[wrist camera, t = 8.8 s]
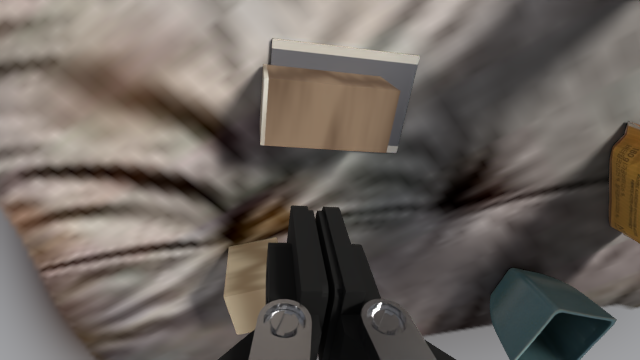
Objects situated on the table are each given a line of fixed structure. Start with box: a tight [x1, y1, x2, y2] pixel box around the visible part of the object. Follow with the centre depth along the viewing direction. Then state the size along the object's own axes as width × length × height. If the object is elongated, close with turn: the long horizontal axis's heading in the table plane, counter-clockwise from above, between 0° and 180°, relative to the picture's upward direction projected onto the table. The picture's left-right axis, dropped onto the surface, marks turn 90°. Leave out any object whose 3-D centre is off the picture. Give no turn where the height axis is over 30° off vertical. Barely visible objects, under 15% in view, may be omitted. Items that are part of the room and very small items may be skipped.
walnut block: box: [260, 64, 400, 153], centre depth 29 cm, size 5×5×10 cm
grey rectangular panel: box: [271, 38, 420, 153], centre depth 32 cm, size 12×9×1 cm
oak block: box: [224, 237, 278, 335], centre depth 36 cm, size 5×5×7 cm
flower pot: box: [490, 268, 616, 360], centre depth 43 cm, size 9×9×9 cm
